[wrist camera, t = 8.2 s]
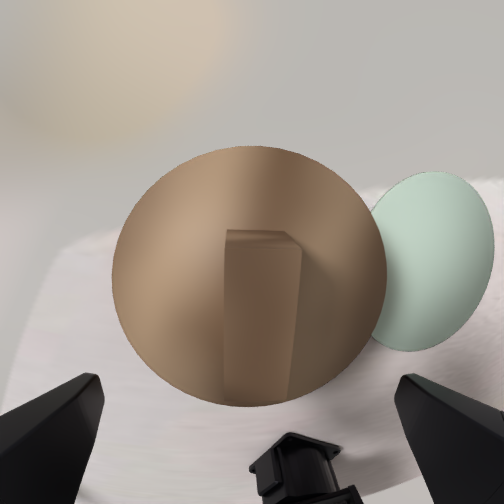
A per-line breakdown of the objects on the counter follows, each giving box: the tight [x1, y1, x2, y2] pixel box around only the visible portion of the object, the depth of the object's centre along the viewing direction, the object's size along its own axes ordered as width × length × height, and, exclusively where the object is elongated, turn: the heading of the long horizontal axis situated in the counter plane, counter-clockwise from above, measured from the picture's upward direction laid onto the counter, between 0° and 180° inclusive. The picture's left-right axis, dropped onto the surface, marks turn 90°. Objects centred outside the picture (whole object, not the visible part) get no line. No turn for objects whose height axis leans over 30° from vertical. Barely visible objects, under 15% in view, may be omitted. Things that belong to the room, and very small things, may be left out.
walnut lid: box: [112, 146, 387, 407], centre depth 12 cm, size 13×13×4 cm
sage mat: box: [371, 172, 494, 352], centre depth 20 cm, size 14×14×1 cm
